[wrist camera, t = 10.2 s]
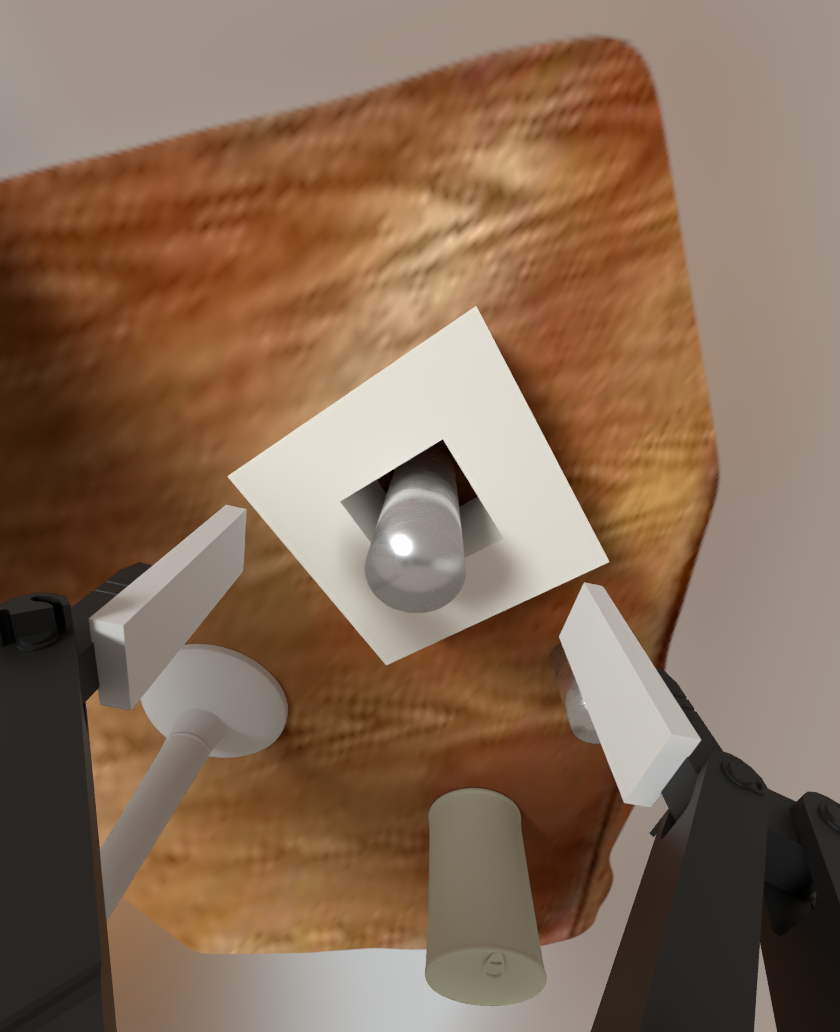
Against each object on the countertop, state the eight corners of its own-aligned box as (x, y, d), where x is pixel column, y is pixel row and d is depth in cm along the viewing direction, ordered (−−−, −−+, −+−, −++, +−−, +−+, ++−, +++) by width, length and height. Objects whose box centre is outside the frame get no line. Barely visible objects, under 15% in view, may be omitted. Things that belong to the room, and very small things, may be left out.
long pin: (382, 465, 27) (344, 556, 16) (434, 433, 26) (431, 507, 15) (415, 513, 29) (400, 627, 18) (466, 484, 28) (484, 586, 17)
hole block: (278, 441, 27) (227, 476, 21) (466, 312, 23) (476, 305, 17) (397, 597, 31) (386, 665, 25) (570, 508, 28) (609, 561, 21)
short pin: (540, 650, 33) (560, 714, 27) (588, 630, 32) (619, 692, 26) (562, 683, 34) (585, 751, 29) (609, 665, 33) (642, 731, 28)
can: (530, 794, 40) (564, 969, 29) (508, 849, 44) (531, 1022, 33) (436, 781, 40) (434, 951, 29) (422, 837, 44) (415, 1007, 33)
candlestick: (197, 617, 33) (-956, 1973, 6) (317, 707, 37) (-51, 1825, 9) (116, 694, 37) (-797, 1713, 10) (231, 768, 41) (-205, 1678, 13)
